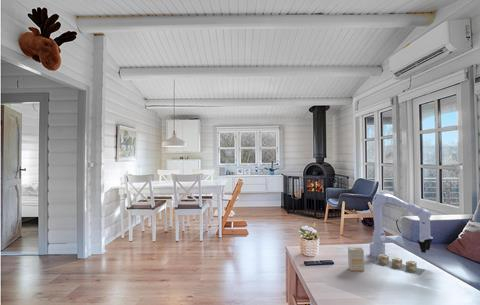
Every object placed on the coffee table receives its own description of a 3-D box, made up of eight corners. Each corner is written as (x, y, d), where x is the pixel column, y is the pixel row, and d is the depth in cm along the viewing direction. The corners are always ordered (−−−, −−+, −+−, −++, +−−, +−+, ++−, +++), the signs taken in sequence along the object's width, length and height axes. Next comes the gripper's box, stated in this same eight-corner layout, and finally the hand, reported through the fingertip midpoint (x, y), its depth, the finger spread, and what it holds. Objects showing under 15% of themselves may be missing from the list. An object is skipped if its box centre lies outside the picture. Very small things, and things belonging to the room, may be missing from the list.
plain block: (391, 265, 180) (391, 258, 180) (394, 264, 183) (394, 257, 183) (399, 267, 176) (399, 260, 177) (402, 266, 179) (402, 258, 180)
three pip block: (405, 269, 174) (405, 261, 174) (408, 267, 177) (408, 259, 177) (414, 271, 170) (414, 263, 171) (416, 269, 174) (416, 261, 174)
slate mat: (370, 263, 186) (370, 262, 186) (378, 259, 194) (378, 258, 194) (419, 276, 165) (419, 275, 165) (425, 270, 173) (425, 269, 173)
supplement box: (361, 268, 178) (361, 247, 178) (364, 271, 173) (363, 249, 173) (348, 268, 178) (347, 247, 179) (350, 271, 174) (349, 249, 174)
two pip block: (378, 262, 186) (378, 255, 186) (381, 260, 189) (381, 253, 189) (386, 264, 182) (385, 257, 182) (388, 262, 185) (388, 255, 185)
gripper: (428, 232, 171) (429, 255, 171) (435, 228, 181) (436, 250, 181) (415, 230, 176) (416, 252, 176) (422, 226, 186) (423, 247, 186)
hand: (425, 251), depth 179 cm, fingers open, 7 cm apart
